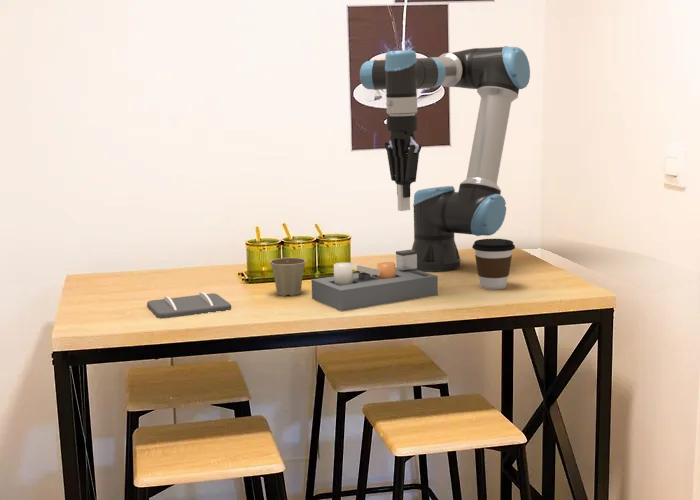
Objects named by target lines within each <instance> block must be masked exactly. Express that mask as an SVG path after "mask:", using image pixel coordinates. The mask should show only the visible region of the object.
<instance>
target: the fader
mask: <svg viewBox="0 0 700 500" xmlns="http://www.w3.org/2000/svg"><path fill="white" fill-rule="evenodd" d="M395 255H396V258H395V259H396V263H395V264H396V267H397V269H400V270H409V269H416V268H417V251H414V250H412V249H402V250H397V251H395Z"/></svg>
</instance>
